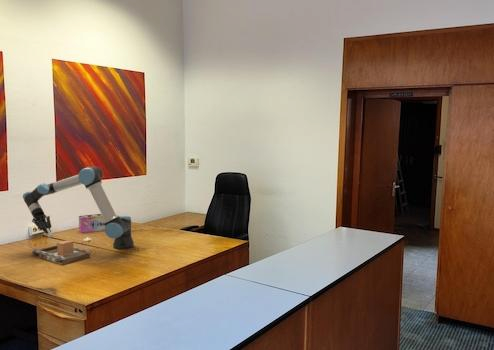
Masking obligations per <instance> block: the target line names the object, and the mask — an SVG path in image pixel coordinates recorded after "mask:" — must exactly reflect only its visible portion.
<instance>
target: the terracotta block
mask: <svg viewBox="0 0 494 350" xmlns="http://www.w3.org/2000/svg"><path fill="white" fill-rule="evenodd" d="M56 246H57V250H58V254H59V255H67V254H71V253H74V251H73V247H74V241H73V240H69V239H67V240H61V241H57V242H56Z"/></svg>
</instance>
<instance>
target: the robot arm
mask: <svg viewBox="0 0 494 350" xmlns="http://www.w3.org/2000/svg"><path fill="white" fill-rule="evenodd" d="M103 177H104V172H103V170H102V169H101V167H99V166H90V167H89V166H88V167H85V168H82V169H81V170H80V171H79V172H78V174H76V175H73V176H70V177H67V178H64V179H59V180H58V181H54V182H51V183H47V184H46V183H43V182H42V183H40V184H38V185H37V186H36V187H35V188H34V189H33V190H32V191H31V190H30V191H26V192H25V193H23V195H22V199H23V202H24V203H25V205H26V206H27V208H28V210H29V211H30V213H31V216H32V220H31V222H32V223H34V225H36V227H37V228H38V229H39V230H40V231H42V232H44V233H45V235H47V237H48V238H49V239H51V238H52V237H53V233H52V229H51V228H52V223H51V220H50V216H51V215H46V214H45V211H44V210H43V208H42V206H41V204H40V203H39V201H40V199H41V198H43V197H44V196H48V195H53V194H56V193H58V192H61V191H64V190H68V189H70V188H73V187H77V186H80V185H84V186H85V189H86V190H87V191H88V190H89V193H90V194H91V196H92V197H93V199H94V202H95V205H96V206H97V208H98V210H99V212H100V214H102V216H103V218H104V225H105V230H104V233H105V235H106V236H107V237H109V239H114V240H113V244H112V248H113V249H115V250H116V249H117V250H127V249H131V248H133V247H134V246H135V242H134V240H133V236H132V217H131V216H128V215H118V214H117V213H116V212H115V210H114V208H113V206H112V204H111V202H110V200H109V198H108V196H107V194H106V192H105V190H104V188H103V186H102V184H103V181H102V179H103Z"/></svg>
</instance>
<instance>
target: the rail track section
mask: <svg viewBox="0 0 494 350" xmlns="http://www.w3.org/2000/svg"><path fill="white" fill-rule="evenodd" d="M73 251H74V253H71V254H67V255H59V254H58V250H57V245H53V246H49V247H45V248H41V249H36V248H32V250H31V254H32V256H33V257H34V256H37V257H39V259H43V260H46V261H50V262H54V263H59V264H61V265H67V264H70V263H74V262H78V261H81V260H86V259H90V257H91V253H90V250H87V249H83V248H80V247H76V246H73Z"/></svg>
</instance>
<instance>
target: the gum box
mask: <svg viewBox="0 0 494 350" xmlns="http://www.w3.org/2000/svg"><path fill="white" fill-rule="evenodd" d="M78 229H79V230H78V231H79V233H81V234H85V233H93V232H102V231H105V225H104V218H103V216H102V214H101V213H96V214H86V215H79V216H78Z"/></svg>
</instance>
